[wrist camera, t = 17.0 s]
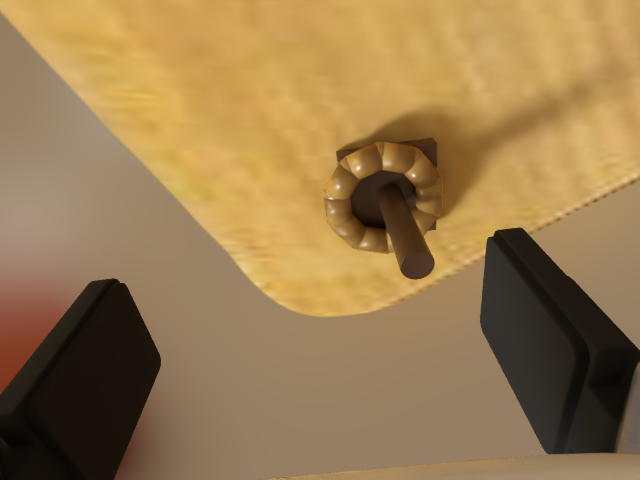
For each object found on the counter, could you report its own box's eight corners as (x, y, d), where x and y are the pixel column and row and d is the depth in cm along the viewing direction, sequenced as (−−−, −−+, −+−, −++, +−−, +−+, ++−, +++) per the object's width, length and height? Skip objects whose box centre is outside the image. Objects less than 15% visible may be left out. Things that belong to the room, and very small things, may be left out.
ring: (439, 129, 35) (447, 137, 33) (437, 238, 41) (444, 251, 39) (317, 146, 36) (317, 155, 34) (332, 252, 41) (333, 264, 39)
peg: (432, 137, 37) (487, 199, 25) (432, 222, 42) (478, 307, 30) (336, 151, 38) (346, 217, 26) (346, 233, 42) (358, 321, 30)
